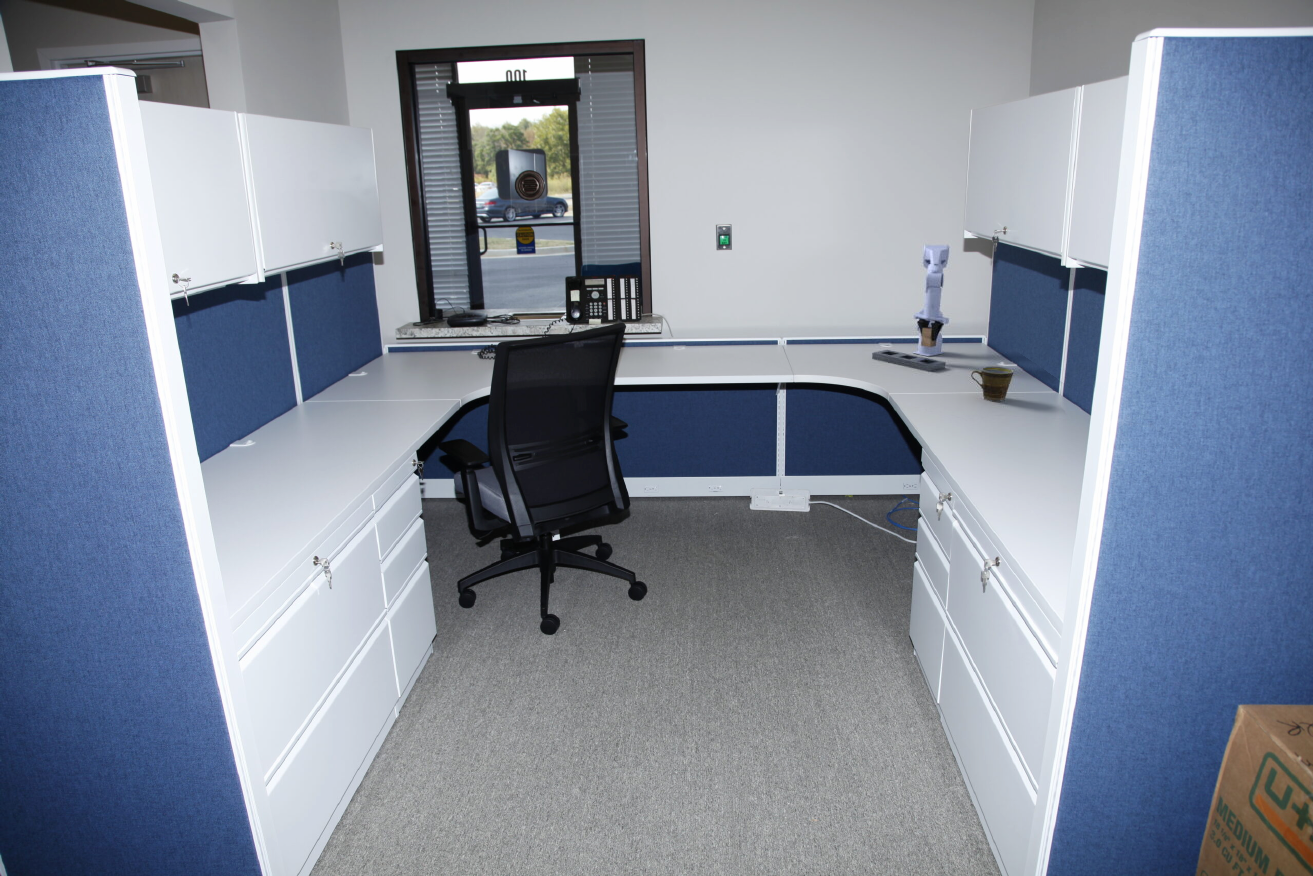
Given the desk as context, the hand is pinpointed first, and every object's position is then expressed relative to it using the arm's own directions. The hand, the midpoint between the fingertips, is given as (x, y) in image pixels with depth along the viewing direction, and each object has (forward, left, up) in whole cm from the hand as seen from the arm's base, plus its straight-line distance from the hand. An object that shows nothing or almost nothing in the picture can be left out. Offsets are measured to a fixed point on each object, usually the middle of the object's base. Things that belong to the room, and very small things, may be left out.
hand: (928, 339), depth 330 cm
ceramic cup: (+26, +45, -10) cm, 53 cm away
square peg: (0, 0, -2) cm, 2 cm away
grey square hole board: (+6, -4, -9) cm, 12 cm away
